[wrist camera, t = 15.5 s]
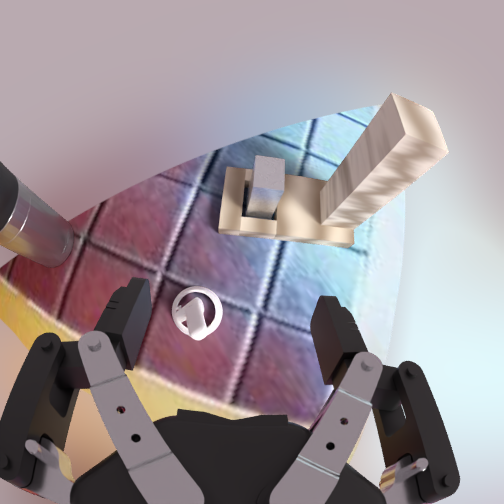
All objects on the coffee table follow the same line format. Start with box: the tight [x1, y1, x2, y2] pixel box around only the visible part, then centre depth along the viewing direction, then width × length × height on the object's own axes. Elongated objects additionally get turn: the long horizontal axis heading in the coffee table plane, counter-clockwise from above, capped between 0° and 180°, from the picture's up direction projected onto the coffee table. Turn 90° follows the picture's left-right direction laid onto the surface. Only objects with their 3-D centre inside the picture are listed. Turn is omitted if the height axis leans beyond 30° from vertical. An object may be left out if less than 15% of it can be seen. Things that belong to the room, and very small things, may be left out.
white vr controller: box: [172, 286, 222, 340], centre depth 36 cm, size 8×12×7 cm
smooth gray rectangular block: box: [245, 155, 285, 220], centre depth 40 cm, size 4×5×11 cm
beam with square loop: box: [219, 93, 449, 248], centre depth 33 cm, size 22×11×26 cm, turn 86°
